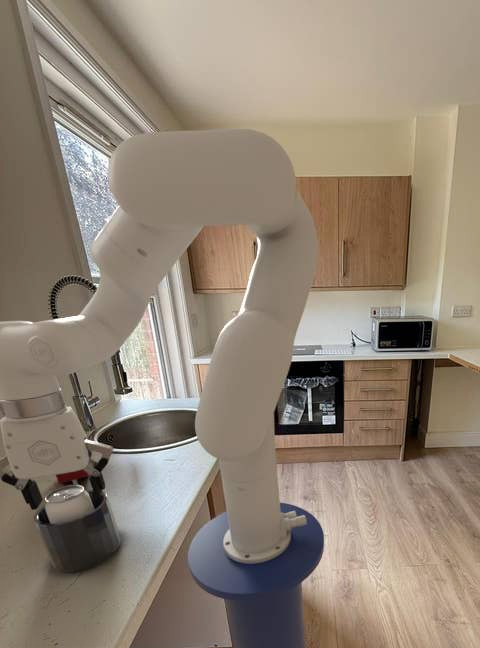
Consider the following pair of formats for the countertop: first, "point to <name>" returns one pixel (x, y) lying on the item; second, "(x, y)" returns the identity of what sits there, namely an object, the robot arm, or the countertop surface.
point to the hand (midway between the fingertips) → (69, 498)
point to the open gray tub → (80, 537)
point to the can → (67, 504)
